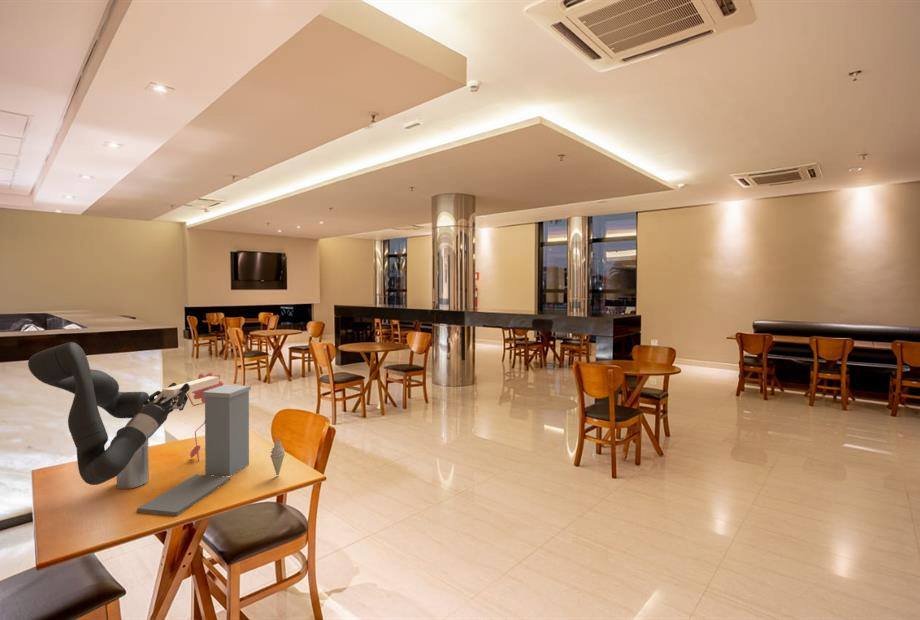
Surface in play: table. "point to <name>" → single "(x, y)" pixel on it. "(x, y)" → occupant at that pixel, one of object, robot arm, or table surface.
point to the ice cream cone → (277, 456)
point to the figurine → (197, 396)
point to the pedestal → (226, 429)
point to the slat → (192, 385)
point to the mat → (183, 495)
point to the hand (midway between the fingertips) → (181, 385)
